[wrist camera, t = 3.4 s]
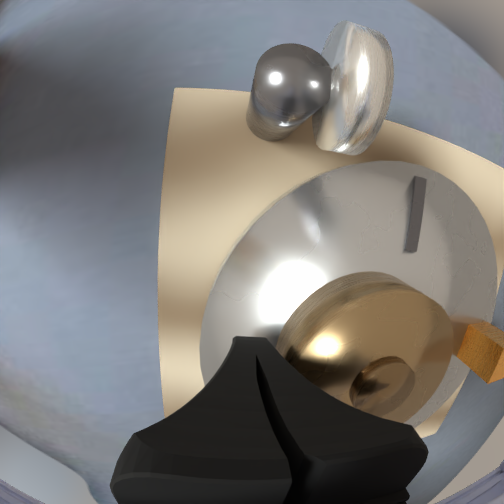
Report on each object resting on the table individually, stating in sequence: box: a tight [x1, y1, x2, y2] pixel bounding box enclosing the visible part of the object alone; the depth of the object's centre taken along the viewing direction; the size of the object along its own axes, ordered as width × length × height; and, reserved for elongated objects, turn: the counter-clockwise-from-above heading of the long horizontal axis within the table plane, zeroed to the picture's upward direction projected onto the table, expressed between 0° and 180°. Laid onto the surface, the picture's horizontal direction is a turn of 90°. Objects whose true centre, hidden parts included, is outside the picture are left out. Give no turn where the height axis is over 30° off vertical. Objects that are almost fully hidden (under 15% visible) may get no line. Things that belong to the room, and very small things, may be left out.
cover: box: [276, 271, 453, 423], centre depth 10 cm, size 7×7×3 cm
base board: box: [158, 88, 504, 438], centre depth 13 cm, size 20×20×1 cm
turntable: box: [199, 161, 504, 428], centre depth 10 cm, size 16×16×4 cm
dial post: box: [246, 21, 394, 155], centre depth 8 cm, size 4×3×7 cm
